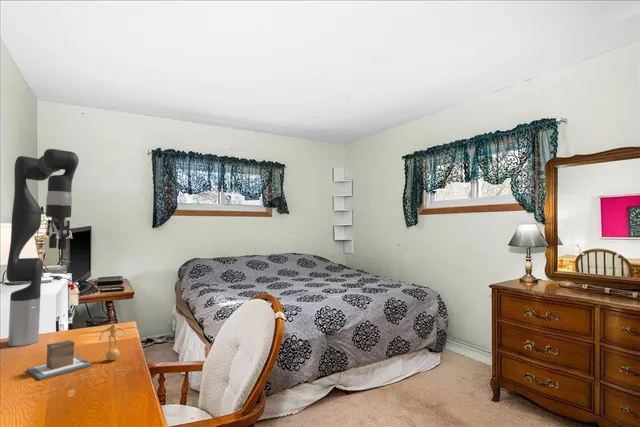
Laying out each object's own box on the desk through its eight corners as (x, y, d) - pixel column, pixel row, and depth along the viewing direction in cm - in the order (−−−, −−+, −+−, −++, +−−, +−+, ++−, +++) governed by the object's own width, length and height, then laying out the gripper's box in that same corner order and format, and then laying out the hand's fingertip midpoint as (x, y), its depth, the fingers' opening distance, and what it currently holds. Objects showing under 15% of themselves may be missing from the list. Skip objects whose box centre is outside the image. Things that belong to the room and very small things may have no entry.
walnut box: (45, 366, 115) (46, 344, 115) (68, 361, 120) (68, 339, 120) (51, 370, 112) (52, 347, 112) (73, 364, 117) (74, 342, 117)
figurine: (98, 364, 120) (100, 328, 120) (97, 359, 125) (99, 324, 125) (126, 359, 124) (128, 325, 125) (124, 354, 129) (125, 321, 130)
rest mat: (26, 370, 114) (27, 367, 114) (76, 357, 125) (76, 355, 125) (40, 380, 107) (40, 377, 107) (91, 366, 118) (91, 363, 118)
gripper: (39, 204, 131) (37, 248, 130) (54, 203, 123) (52, 250, 122) (63, 205, 137) (61, 247, 136) (78, 204, 129) (77, 249, 128)
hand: (57, 248), depth 129 cm, fingers open, 8 cm apart
